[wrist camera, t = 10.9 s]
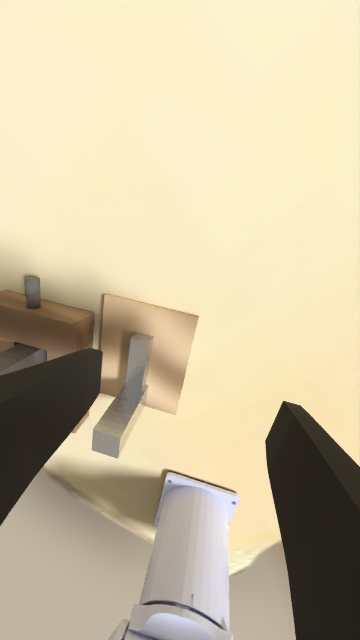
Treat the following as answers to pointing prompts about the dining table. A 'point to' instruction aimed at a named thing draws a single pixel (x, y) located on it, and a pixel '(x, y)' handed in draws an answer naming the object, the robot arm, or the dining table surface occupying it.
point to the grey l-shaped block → (125, 400)
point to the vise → (40, 330)
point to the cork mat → (166, 354)
